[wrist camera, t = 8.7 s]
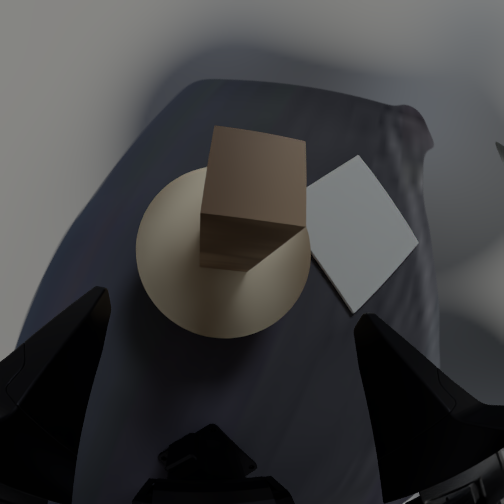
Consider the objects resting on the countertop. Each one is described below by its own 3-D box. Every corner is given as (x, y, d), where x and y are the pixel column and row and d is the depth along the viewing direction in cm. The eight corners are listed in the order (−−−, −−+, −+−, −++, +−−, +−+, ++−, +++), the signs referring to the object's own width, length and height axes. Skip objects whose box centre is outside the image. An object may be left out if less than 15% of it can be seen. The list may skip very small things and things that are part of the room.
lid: (307, 184, 20) (386, 95, 10) (301, 340, 18) (410, 366, 8) (155, 163, 18) (131, 47, 8) (129, 326, 16) (42, 346, 6)
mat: (416, 243, 27) (418, 242, 27) (352, 313, 24) (354, 313, 23) (356, 156, 28) (358, 154, 27) (277, 207, 24) (278, 205, 24)
